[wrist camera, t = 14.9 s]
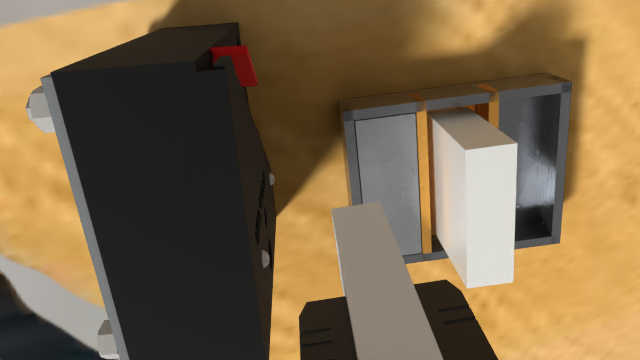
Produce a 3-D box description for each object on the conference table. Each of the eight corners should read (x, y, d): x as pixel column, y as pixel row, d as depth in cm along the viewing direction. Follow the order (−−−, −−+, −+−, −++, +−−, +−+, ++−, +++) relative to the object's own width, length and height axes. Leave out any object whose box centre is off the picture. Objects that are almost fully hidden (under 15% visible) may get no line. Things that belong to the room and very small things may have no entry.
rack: (337, 100, 43) (342, 111, 39) (547, 72, 43) (572, 81, 39) (353, 247, 48) (359, 270, 44) (539, 222, 48) (559, 243, 45)
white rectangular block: (431, 226, 46) (466, 288, 37) (426, 112, 42) (465, 150, 33) (468, 221, 46) (513, 282, 37) (467, 107, 42) (517, 143, 33)
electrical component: (133, 30, 39) (-3, 75, 21) (261, 20, 40) (238, 56, 21) (174, 226, 46) (97, 392, 28) (283, 216, 46) (280, 374, 28)
